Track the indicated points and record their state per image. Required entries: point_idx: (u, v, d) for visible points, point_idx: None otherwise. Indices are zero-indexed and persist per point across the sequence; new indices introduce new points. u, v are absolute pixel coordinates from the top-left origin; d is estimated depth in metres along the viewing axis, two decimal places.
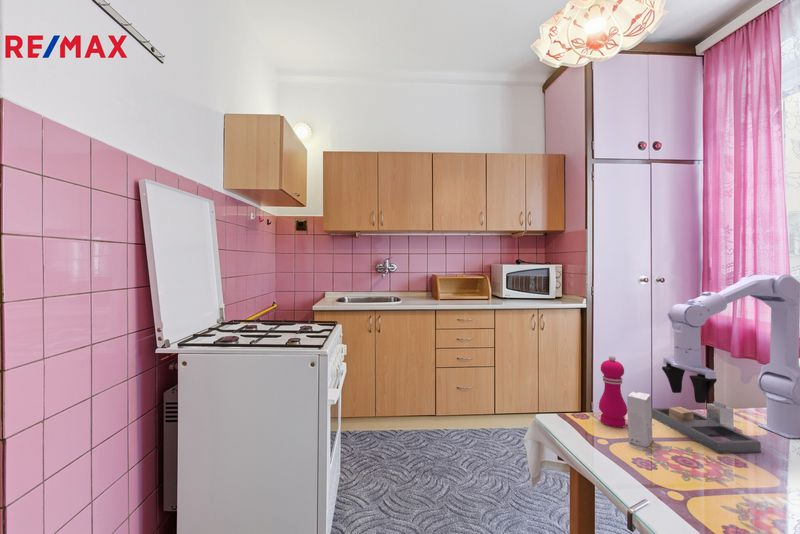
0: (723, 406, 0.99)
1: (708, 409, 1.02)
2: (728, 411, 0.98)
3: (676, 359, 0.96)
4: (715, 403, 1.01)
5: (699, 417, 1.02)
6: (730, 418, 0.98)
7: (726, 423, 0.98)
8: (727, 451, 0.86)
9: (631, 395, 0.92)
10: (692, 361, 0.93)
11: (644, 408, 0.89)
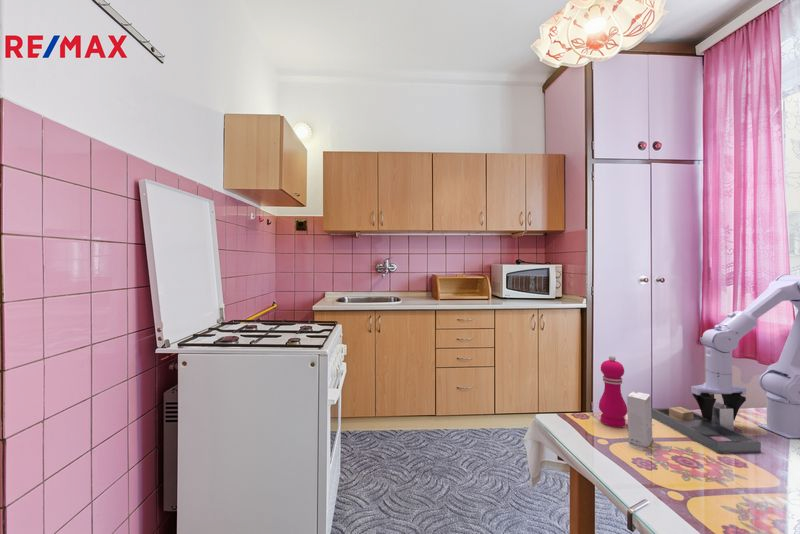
0: (723, 406, 0.99)
1: None
2: (728, 411, 0.98)
3: None
4: (715, 403, 1.01)
5: (699, 417, 1.02)
6: (730, 418, 0.98)
7: (726, 423, 0.98)
8: (727, 451, 0.86)
9: (631, 395, 0.92)
10: (706, 381, 1.01)
11: (644, 408, 0.89)
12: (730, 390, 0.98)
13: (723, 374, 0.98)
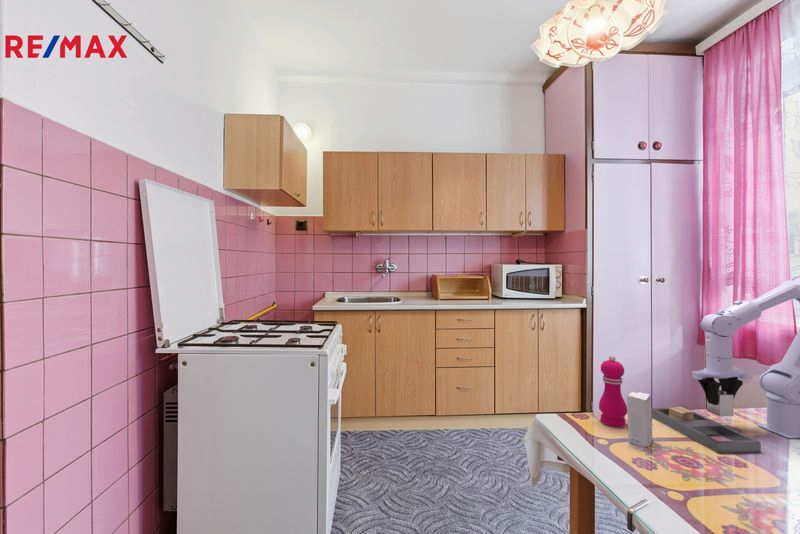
0: (723, 392, 0.99)
1: None
2: (728, 398, 0.98)
3: None
4: None
5: (699, 417, 1.02)
6: (730, 404, 0.98)
7: (726, 409, 0.98)
8: (727, 451, 0.86)
9: (631, 395, 0.92)
10: (707, 366, 1.01)
11: (644, 408, 0.89)
12: (731, 374, 0.98)
13: (723, 358, 0.98)
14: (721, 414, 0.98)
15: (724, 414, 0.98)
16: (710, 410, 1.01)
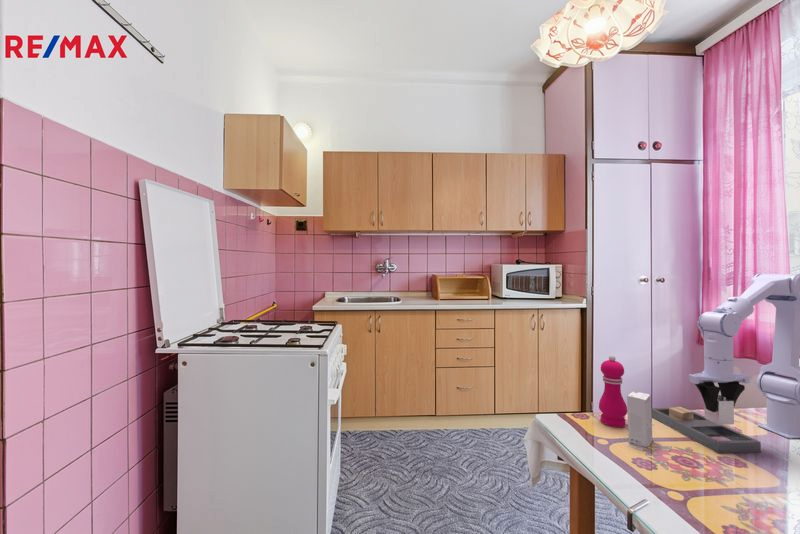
0: (722, 398, 0.90)
1: None
2: (728, 404, 0.89)
3: None
4: None
5: (699, 417, 1.02)
6: (730, 411, 0.89)
7: (725, 417, 0.89)
8: (727, 451, 0.86)
9: (631, 395, 0.92)
10: (705, 369, 0.92)
11: (644, 408, 0.89)
12: (732, 378, 0.88)
13: (724, 360, 0.89)
14: (720, 422, 0.89)
15: (723, 422, 0.89)
16: (708, 417, 0.92)
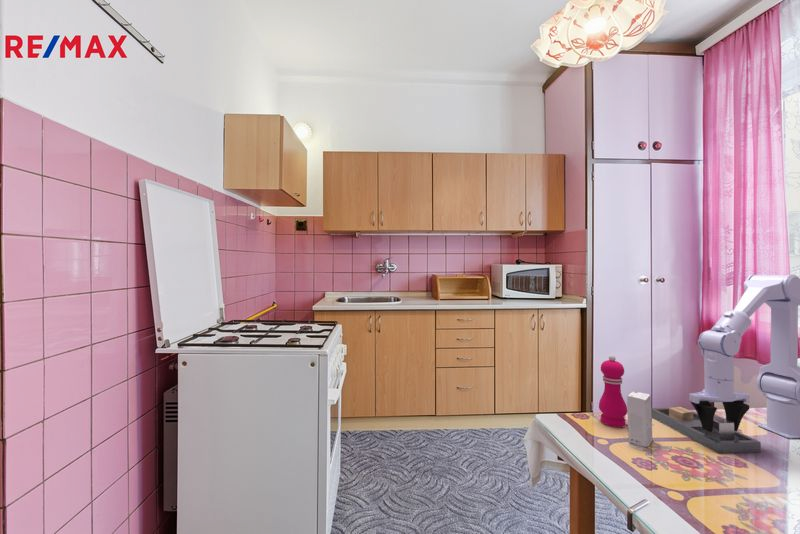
0: (723, 420, 0.90)
1: None
2: (728, 426, 0.89)
3: None
4: (714, 416, 0.92)
5: None
6: (730, 433, 0.89)
7: (726, 439, 0.89)
8: (727, 451, 0.86)
9: (631, 395, 0.92)
10: (705, 388, 0.92)
11: (644, 408, 0.89)
12: (732, 398, 0.88)
13: (724, 380, 0.89)
14: None
15: None
16: None
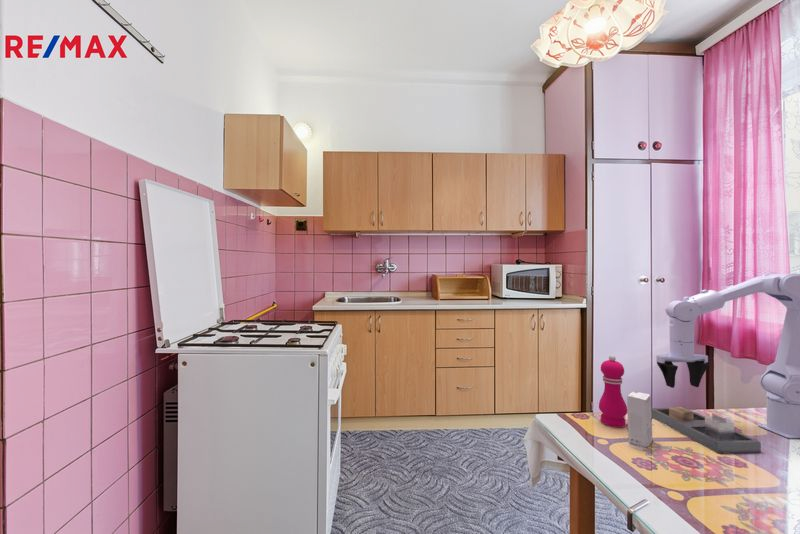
0: (723, 420, 0.90)
1: (706, 423, 0.92)
2: (728, 426, 0.89)
3: None
4: (714, 416, 0.92)
5: (699, 417, 1.02)
6: (730, 433, 0.89)
7: (726, 439, 0.89)
8: (727, 451, 0.86)
9: (631, 395, 0.92)
10: (670, 350, 1.05)
11: (644, 408, 0.89)
12: (692, 357, 1.02)
13: (685, 342, 1.02)
14: None
15: None
16: None
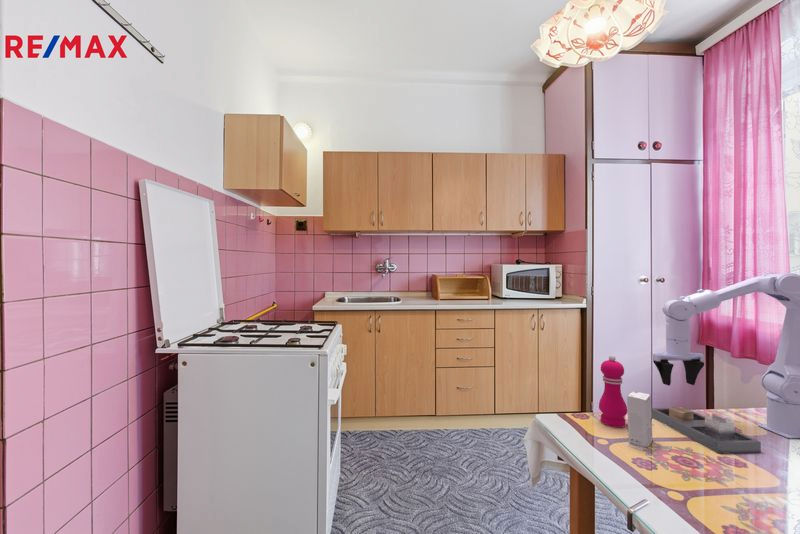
0: (723, 420, 0.90)
1: (706, 423, 0.92)
2: (728, 426, 0.89)
3: None
4: (714, 416, 0.92)
5: (699, 417, 1.02)
6: (730, 433, 0.89)
7: (726, 439, 0.89)
8: (727, 451, 0.86)
9: (631, 395, 0.92)
10: (666, 349, 1.07)
11: (644, 408, 0.89)
12: (688, 356, 1.03)
13: (681, 341, 1.04)
14: None
15: None
16: None
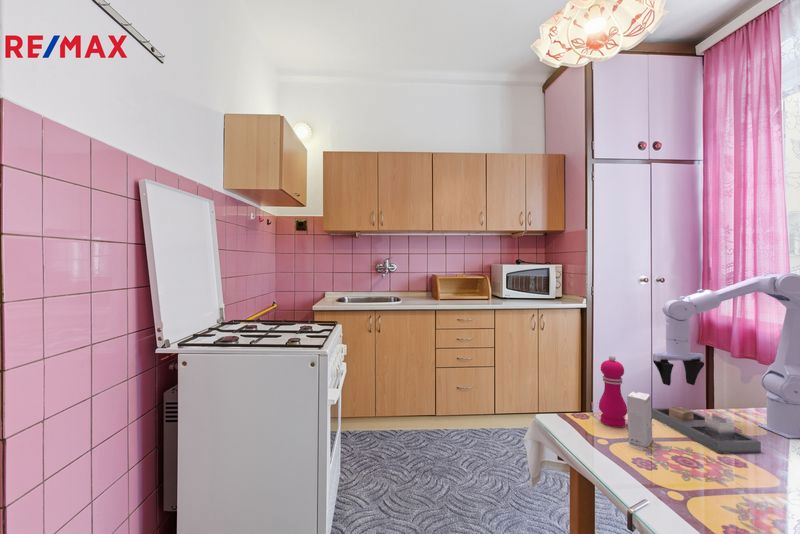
0: (723, 420, 0.90)
1: (706, 423, 0.92)
2: (728, 426, 0.89)
3: None
4: (714, 416, 0.92)
5: (699, 417, 1.02)
6: (730, 433, 0.89)
7: (726, 439, 0.89)
8: (727, 451, 0.86)
9: (631, 395, 0.92)
10: (666, 349, 1.07)
11: (644, 408, 0.89)
12: (688, 356, 1.03)
13: (681, 341, 1.04)
14: None
15: None
16: None
